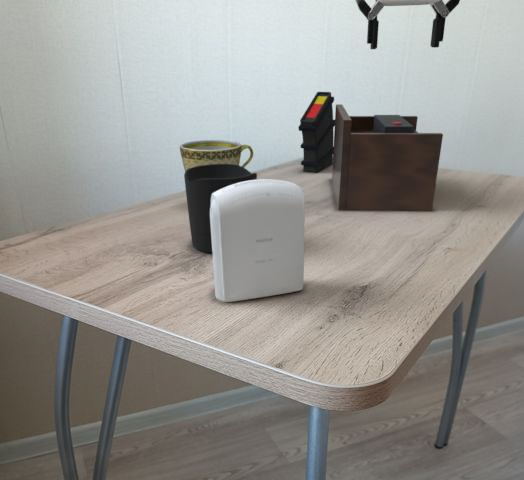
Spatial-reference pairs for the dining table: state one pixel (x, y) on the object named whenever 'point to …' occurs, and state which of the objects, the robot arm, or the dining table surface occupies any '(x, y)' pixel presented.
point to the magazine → (318, 133)
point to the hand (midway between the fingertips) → (403, 48)
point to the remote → (391, 124)
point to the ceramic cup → (212, 153)
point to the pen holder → (208, 196)
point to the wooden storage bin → (383, 166)
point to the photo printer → (257, 239)
